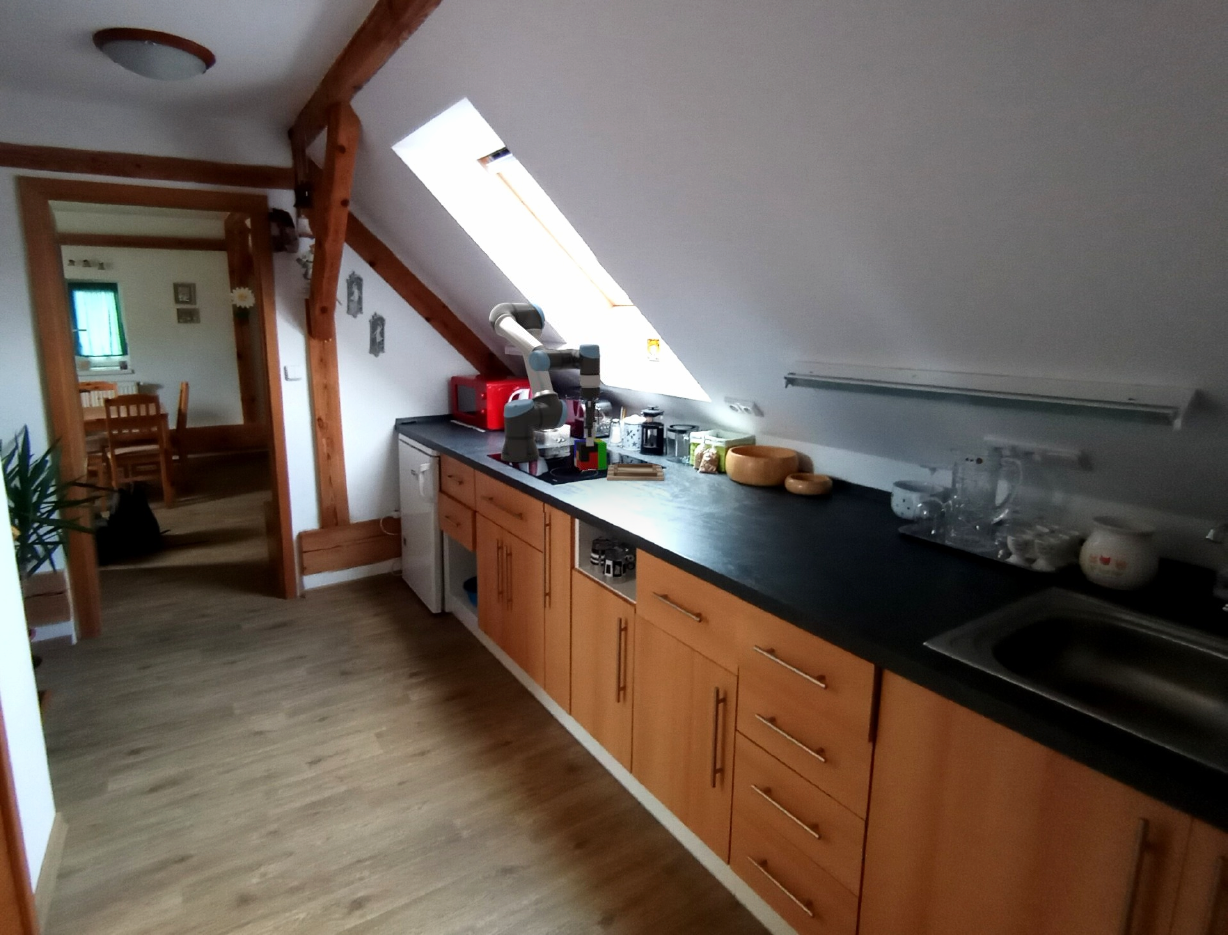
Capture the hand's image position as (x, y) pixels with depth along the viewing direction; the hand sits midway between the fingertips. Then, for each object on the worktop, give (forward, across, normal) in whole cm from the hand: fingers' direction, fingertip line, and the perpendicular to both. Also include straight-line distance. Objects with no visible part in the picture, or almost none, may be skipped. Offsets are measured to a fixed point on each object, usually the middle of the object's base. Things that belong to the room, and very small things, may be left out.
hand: (590, 442), depth 264 cm
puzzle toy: (+10, 0, 0) cm, 10 cm away
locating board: (+10, +10, +17) cm, 22 cm away
